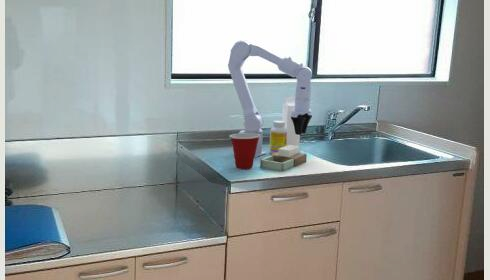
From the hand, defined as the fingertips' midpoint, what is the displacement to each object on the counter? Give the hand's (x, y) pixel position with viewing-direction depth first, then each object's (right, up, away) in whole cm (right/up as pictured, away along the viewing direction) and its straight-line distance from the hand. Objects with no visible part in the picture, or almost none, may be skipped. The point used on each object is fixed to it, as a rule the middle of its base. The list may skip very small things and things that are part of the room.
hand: (300, 133), depth 207 cm
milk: (-3, -7, +15) cm, 16 cm away
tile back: (-4, -7, -5) cm, 9 cm away
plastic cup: (-22, -12, -17) cm, 30 cm away
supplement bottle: (-8, -8, +8) cm, 14 cm away
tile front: (-6, -8, -9) cm, 13 cm away
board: (-5, -11, -6) cm, 13 cm away
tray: (-10, -12, -14) cm, 21 cm away
